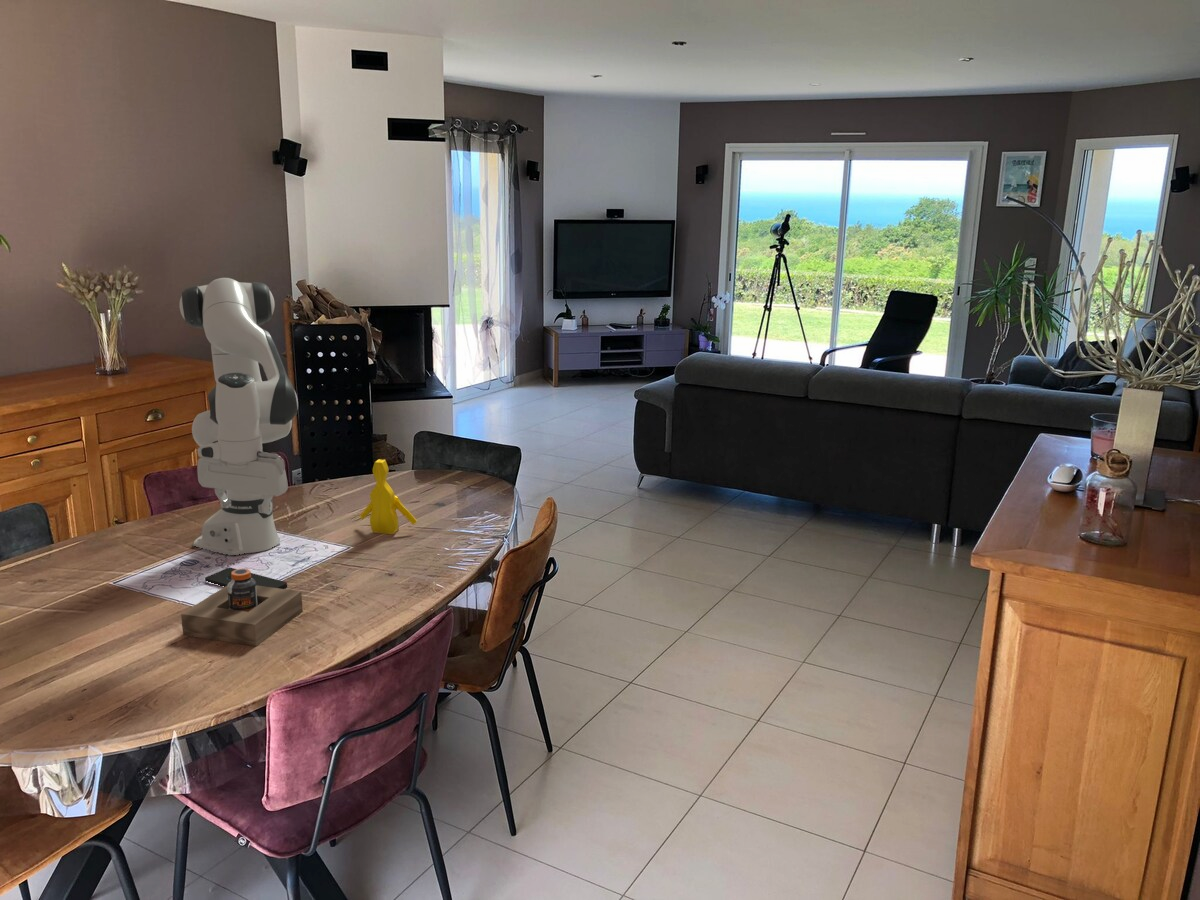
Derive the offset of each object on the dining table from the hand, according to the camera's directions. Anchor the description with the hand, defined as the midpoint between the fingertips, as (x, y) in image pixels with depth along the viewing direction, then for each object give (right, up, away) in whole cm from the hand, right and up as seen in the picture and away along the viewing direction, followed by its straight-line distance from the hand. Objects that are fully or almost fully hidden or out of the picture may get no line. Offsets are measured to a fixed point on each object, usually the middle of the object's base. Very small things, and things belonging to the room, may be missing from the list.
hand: (244, 509), depth 202 cm
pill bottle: (-2, -25, +4) cm, 25 cm away
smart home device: (-9, -21, +24) cm, 33 cm away
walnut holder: (-1, -26, +4) cm, 26 cm away
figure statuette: (+17, -11, +62) cm, 65 cm away
